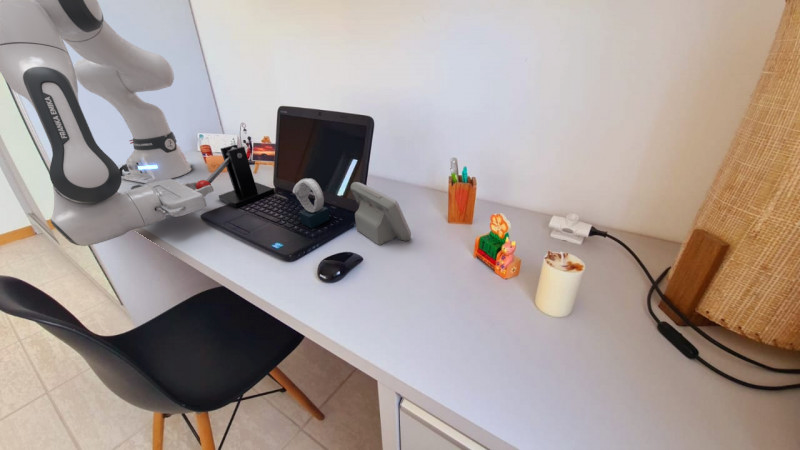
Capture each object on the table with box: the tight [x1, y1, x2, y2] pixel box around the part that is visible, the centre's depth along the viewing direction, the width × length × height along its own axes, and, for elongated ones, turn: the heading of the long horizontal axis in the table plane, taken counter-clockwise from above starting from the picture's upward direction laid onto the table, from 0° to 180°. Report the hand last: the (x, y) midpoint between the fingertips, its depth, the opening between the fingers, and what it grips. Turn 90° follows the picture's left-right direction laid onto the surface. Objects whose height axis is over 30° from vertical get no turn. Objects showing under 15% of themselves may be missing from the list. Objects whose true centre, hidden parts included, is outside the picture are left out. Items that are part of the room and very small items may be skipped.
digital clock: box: [350, 181, 412, 246], centre depth 72 cm, size 16×9×11 cm, turn 27°
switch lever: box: [195, 147, 235, 190], centre depth 89 cm, size 15×4×4 cm
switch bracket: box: [218, 144, 276, 209], centre depth 93 cm, size 12×10×15 cm
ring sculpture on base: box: [292, 177, 331, 229], centre depth 78 cm, size 6×8×11 cm
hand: (207, 185), depth 87 cm, fingers open, 4 cm apart
